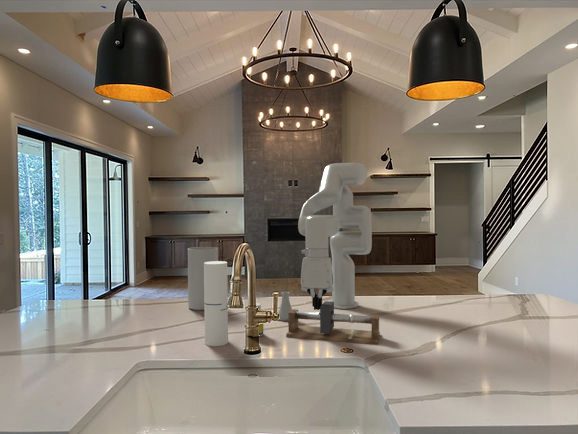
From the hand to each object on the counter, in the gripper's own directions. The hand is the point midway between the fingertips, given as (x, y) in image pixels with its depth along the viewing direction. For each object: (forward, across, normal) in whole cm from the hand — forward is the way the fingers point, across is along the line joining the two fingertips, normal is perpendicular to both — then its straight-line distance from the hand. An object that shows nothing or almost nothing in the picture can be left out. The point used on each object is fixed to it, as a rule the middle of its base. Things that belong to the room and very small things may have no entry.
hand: (317, 308), depth 137 cm
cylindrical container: (+9, -29, -16) cm, 34 cm away
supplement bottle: (+9, -20, -6) cm, 22 cm away
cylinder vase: (+9, -55, +24) cm, 61 cm away
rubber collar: (+7, +3, 0) cm, 7 cm away
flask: (+9, -16, +16) cm, 24 cm away
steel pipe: (+4, +5, 0) cm, 7 cm away
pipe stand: (+8, +5, 0) cm, 10 cm away
